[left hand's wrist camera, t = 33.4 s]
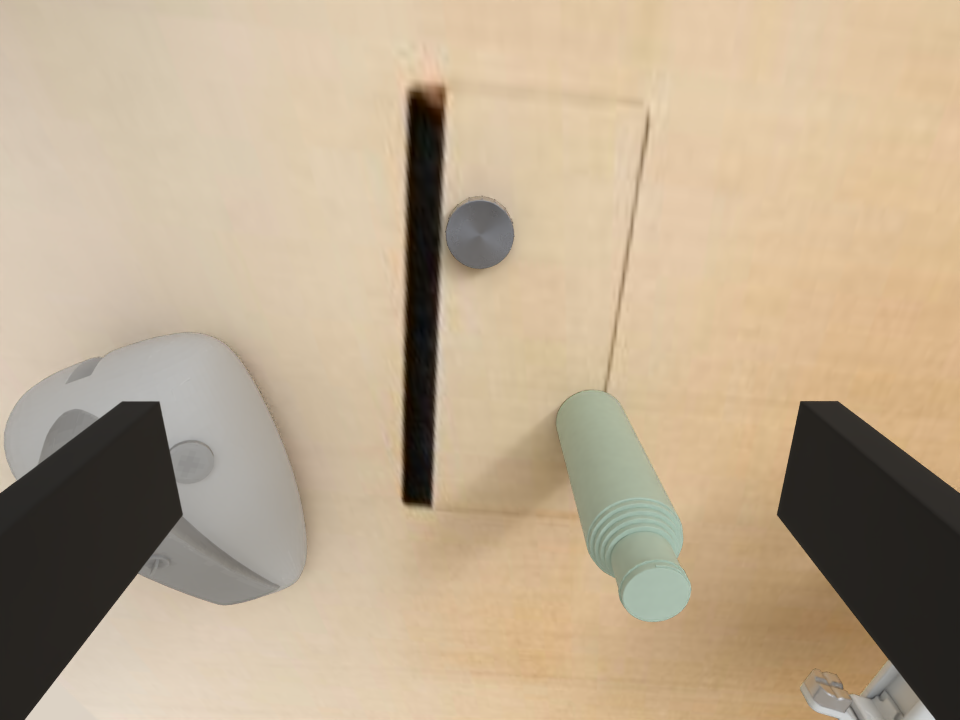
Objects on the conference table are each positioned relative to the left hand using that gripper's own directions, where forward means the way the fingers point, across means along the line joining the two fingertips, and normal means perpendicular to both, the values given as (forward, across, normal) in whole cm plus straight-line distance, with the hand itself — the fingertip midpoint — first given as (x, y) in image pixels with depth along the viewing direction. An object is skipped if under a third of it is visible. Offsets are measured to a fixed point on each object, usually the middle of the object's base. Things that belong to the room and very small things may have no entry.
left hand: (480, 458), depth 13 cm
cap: (+30, 0, 0) cm, 30 cm away
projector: (+32, -22, -19) cm, 43 cm away
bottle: (+32, +9, -15) cm, 36 cm away
